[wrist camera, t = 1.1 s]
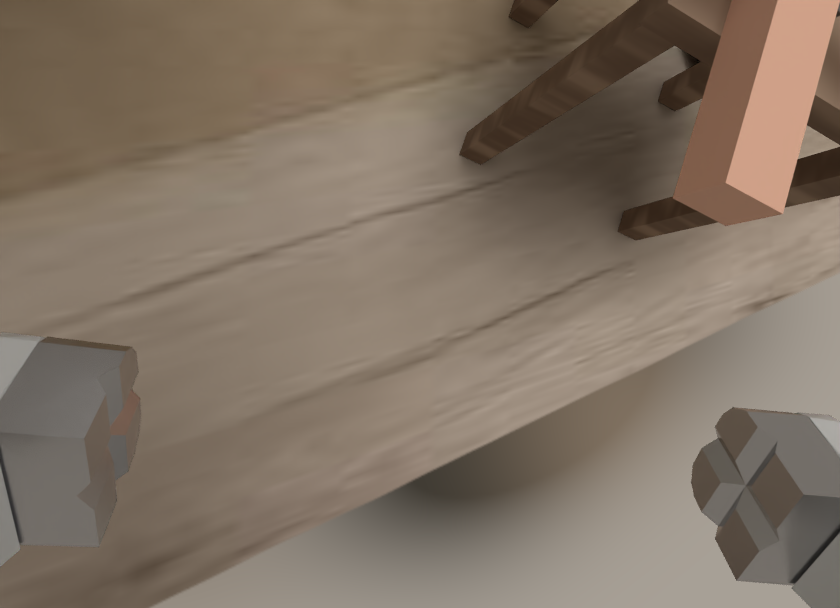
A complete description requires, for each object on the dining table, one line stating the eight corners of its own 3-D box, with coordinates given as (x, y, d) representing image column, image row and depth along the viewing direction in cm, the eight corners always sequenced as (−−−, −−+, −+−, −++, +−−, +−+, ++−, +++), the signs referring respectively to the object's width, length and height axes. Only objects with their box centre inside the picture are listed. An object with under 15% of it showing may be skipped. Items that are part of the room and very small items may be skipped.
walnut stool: (638, 247, 58) (990, 176, 32) (452, 157, 53) (691, -15, 27) (686, 89, 61) (1049, -95, 35) (512, -12, 56) (786, -319, 30)
